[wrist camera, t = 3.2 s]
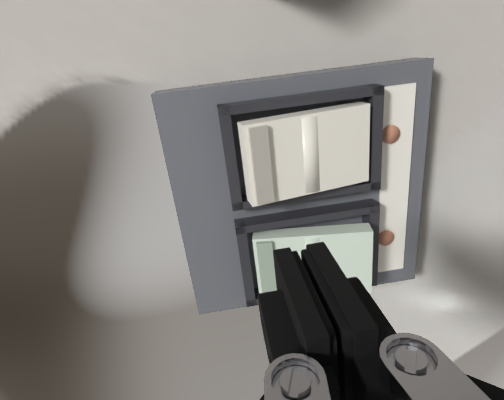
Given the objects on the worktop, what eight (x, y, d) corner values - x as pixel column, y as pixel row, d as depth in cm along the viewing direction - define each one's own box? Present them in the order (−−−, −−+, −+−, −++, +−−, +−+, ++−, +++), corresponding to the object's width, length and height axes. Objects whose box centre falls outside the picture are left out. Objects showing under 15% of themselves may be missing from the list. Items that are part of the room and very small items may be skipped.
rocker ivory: (357, 101, 25) (373, 104, 23) (356, 174, 27) (371, 182, 26) (236, 121, 23) (244, 126, 21) (246, 198, 25) (254, 209, 24)
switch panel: (414, 57, 27) (447, 58, 24) (401, 263, 35) (423, 288, 31) (156, 90, 26) (147, 97, 22) (199, 296, 34) (198, 326, 30)
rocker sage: (368, 221, 27) (374, 233, 26) (366, 280, 30) (372, 295, 28) (253, 229, 28) (251, 241, 26) (260, 286, 30) (259, 301, 29)
